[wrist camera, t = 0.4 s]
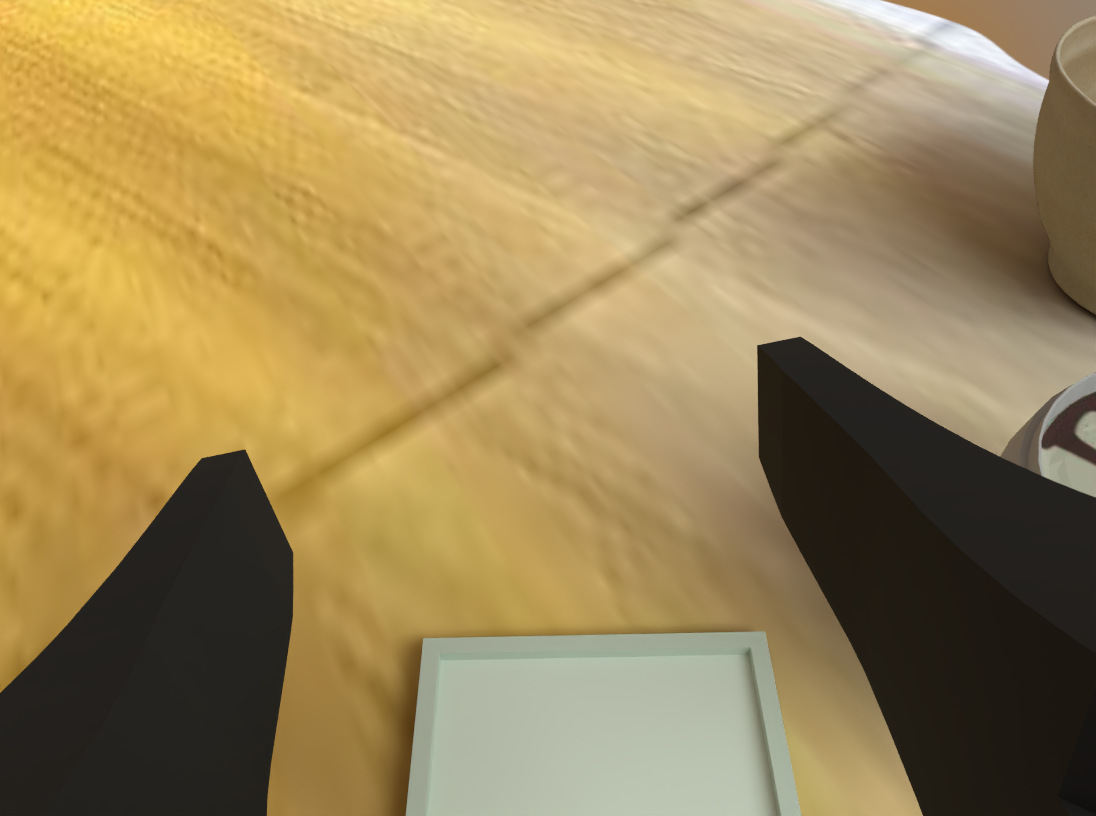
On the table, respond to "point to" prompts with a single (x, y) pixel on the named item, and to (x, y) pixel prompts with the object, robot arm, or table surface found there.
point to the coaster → (600, 727)
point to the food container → (1061, 438)
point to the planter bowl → (1070, 163)
